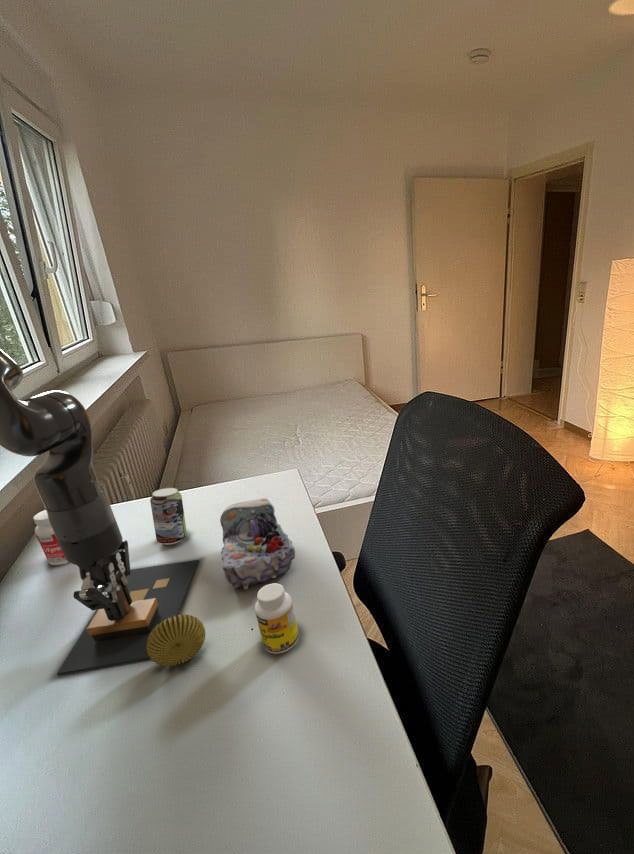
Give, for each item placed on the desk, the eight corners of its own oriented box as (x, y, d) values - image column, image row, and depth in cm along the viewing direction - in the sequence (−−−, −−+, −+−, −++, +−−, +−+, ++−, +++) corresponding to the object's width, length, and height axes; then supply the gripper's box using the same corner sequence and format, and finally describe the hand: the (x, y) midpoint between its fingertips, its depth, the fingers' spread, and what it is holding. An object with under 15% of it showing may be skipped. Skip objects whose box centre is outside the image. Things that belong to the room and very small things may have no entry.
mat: (57, 676, 67) (56, 673, 67) (121, 573, 89) (121, 571, 89) (162, 657, 69) (160, 655, 69) (199, 561, 91) (199, 559, 91)
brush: (92, 642, 72) (74, 605, 69) (105, 619, 76) (90, 583, 73) (151, 633, 73) (136, 595, 70) (160, 610, 78) (147, 574, 74)
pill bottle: (46, 570, 91) (24, 525, 87) (52, 554, 96) (32, 510, 92) (81, 560, 94) (62, 516, 89) (86, 545, 99) (67, 502, 94)
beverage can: (152, 547, 96) (135, 500, 92) (175, 528, 103) (161, 483, 98) (176, 550, 95) (160, 502, 90) (198, 530, 101) (185, 485, 97)
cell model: (268, 486, 96) (295, 532, 80) (276, 527, 101) (303, 579, 85) (204, 504, 91) (220, 557, 75) (215, 546, 95) (233, 606, 79)
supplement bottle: (257, 653, 69) (244, 603, 65) (273, 625, 74) (262, 577, 70) (290, 658, 68) (279, 607, 64) (305, 629, 73) (295, 580, 69)
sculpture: (208, 638, 72) (196, 601, 69) (212, 655, 69) (200, 617, 66) (154, 662, 69) (138, 623, 65) (156, 681, 65) (140, 641, 62)
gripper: (81, 504, 72) (115, 587, 79) (30, 557, 60) (76, 650, 67) (130, 498, 73) (159, 580, 80) (90, 548, 61) (129, 641, 68)
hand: (121, 611), depth 73 cm, fingers closed on brush, 2 cm apart
